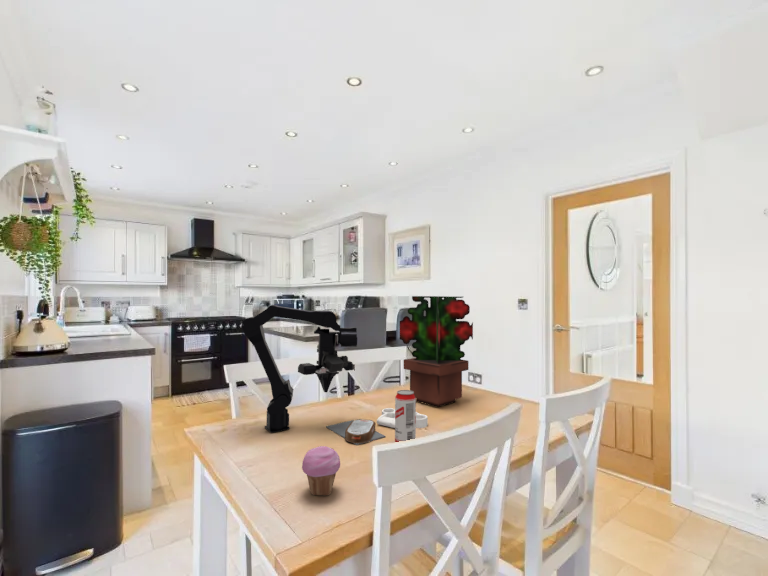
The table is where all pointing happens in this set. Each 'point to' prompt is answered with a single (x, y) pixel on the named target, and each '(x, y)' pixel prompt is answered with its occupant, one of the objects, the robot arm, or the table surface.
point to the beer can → (405, 415)
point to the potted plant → (436, 348)
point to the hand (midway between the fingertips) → (325, 392)
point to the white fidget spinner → (389, 419)
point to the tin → (360, 431)
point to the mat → (342, 427)
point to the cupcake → (321, 469)
